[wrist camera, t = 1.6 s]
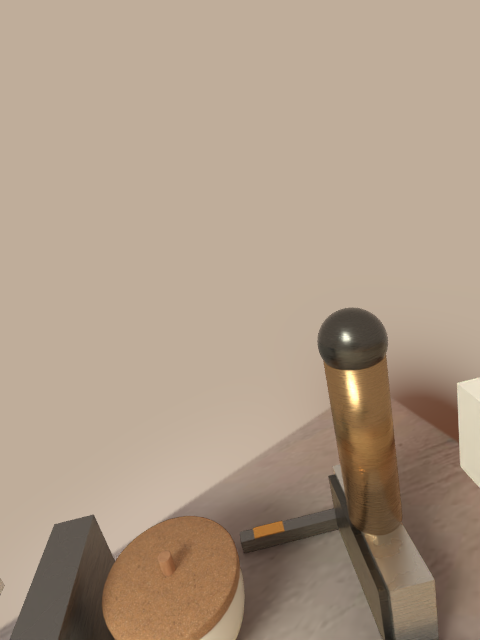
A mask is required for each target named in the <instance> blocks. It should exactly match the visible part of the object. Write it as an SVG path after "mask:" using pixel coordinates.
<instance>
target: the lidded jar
mask: <svg viewBox="0 0 480 640" xmlns="http://www.w3.org/2000/svg"><path fill="white" fill-rule="evenodd" d="M244 597H245V593H244V584H243V576H242V572H241V568H240V563H239V556H238V552H237V549H236V546H235V543H234V541H233V539H232V537H231V535H230V534H229V533H228V532H227V531H226V529H225V528H223V527H222V526H221V525H220V524H218V523H216V522H214V521H212V520H210V519H207V518H204V517H197V516H184V517H177V518H173V519H169V520H166V521H164V522H161V523H159V524H157V525H155V526H153V527H151V528H149V529H148V530H146V531H145V532H143V533H142V534H140V535H139V536H138V537H137V538H135V539H134V540H133V541H132V542H131V543H130V544H129V545H128V546H127V547H126V548H125V549H124V550H123V552H122V553H121V554H120V555H119V557H118V558H117V560H116V561H115V563H114V564H113V566H112V568H111V570H110V572H109V574H108V577H107V580H106V582H105V585H104V590H103V595H102V610H103V616H104V619H105V622H106V625H107V627H108V629H109V631H110V632H111V634H112V635H113V637H114V639H115V640H236V638H237V636H238V633H239V630H240V627H241V624H242V619H243V614H244Z"/></svg>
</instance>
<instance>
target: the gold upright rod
mask: <svg viewBox="0 0 480 640" xmlns="http://www.w3.org/2000/svg"><path fill="white" fill-rule="evenodd" d="M387 347H388V337H387V333H386V330H385V328H384V326H383V324H382V323H381V321H380V320H379V319H378V318H377V317H376V316H375V315H373V314H372V313H370V312H368V311H366V310H363V309H360V308H345V309H341V310H338V311H336V312H334V313H333V314H331V315H330V316H329V317H328V318H327V319H326V320H325V321H324V323H323V324H322V326H321V328H320V330H319V333H318V349H319V353H320V355H321V357H322V359H323V361H324V368H325V374H326V380H327V386H328V392H329V398H330V404H331V410H332V417H333V423H334V429H335V435H336V441H337V447H338V453H339V459H340V464H339V465H335V466H332V467H333V473H334V475H330V476H328V477H329V482H330V488H331V494H332V499H333V505H334V510H335V516H336V522H337V526H338V528H339V531H340V533H341V536H342V538H343V541H344V543H345V546H346V548H347V551H348V553H349V556H350V558H351V561H352V564H353V566H354V569H355V571H356V574H357V576H358V579H359V581H360V584H361V586H362V589H363V591H364V594H365V596H366V599H367V601H368V604H369V606H370V609H371V611H372V614H373V616H374V619H375V621H376V624H377V626H378V629H379V631H380V634H381V636H382V639H383V640H439V635H438V621H437V606H436V592H435V580H434V578H433V576H432V574H431V573H430V571H429V569H428V567H427V566H426V564H425V562H424V561H423V559H422V557H421V555H420V554H419V552H418V550H417V548H416V547H415V545H414V543H413V542H412V540H411V538H410V536H409V535H408V533H407V531H406V530H405V528H404V526H403V524H402V523H401V521H402V508H401V498H400V488H399V478H398V468H397V458H396V448H395V439H394V429H393V419H392V409H391V399H390V390H389V379H388V369H387V360H386V352H387Z"/></svg>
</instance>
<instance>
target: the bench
mask: <svg viewBox="0 0 480 640" xmlns="http://www.w3.org/2000/svg"><path fill="white" fill-rule="evenodd" d="M338 529H339V528H338V526H337V522H336V516H335V510H334V509H330V510H326V511H322V512H318V513H314V514H310V515H306V516H302V517H298V518H294V519H290V520H286V521H279V522H275V523H271V524H267V525H263V526H259V527H255V528H253V529H251V530H247V531H243V532H240V539H241V544H242V548H243V551H244V553H247V552H251V551H255V550H259V549H263V548H267V547H271V546H275V545H279V544H283V543H287V542H291V541H295V540H298V539H302V538H306V537H310V536H314V535H318V534H322V533H326V532H330V531H334V530H338ZM114 563H115V560H114V558H113V556H112V554H111V551H110V549H109V547H108V545H107V543H106V541H105V538H104V536H103V534H102V532H101V530H100V528H99V525H98V523H97V521H96V519H95V517H94V515H90V516H87V517H82V518H79V519H75V520H70V521H66V522H62V523H59V524H55V525H54V527H53V530H52V532H51V535H50V537H49V540H48V542H47V545H46V548H45V550H44V553H43V555H42V558H41V561H40V563H39V566H38V568H37V571H36V573H35V576H34V579H33V581H32V584H31V586H30V589H29V592H28V594H27V597H26V599H25V602H24V604H23V607H22V609H21V612H20V615H19V617H18V620H17V622H16V625H15V627H14V630H13V633H12V635H11V638H10V640H115V639H114V637H113V635H112V634H111V632H110V631H109V629H108V627H107V625H106V622H105V619H104V616H103V610H102V595H103V590H104V585H105V582H106V580H107V577H108V574H109V572H110V570H111V568H112V566H113V564H114Z"/></svg>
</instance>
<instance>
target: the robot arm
mask: <svg viewBox="0 0 480 640" xmlns="http://www.w3.org/2000/svg"><path fill="white" fill-rule="evenodd" d="M457 395H458V421H459V447H460V467H461V468H462V469H463V470H464V471H465V472H466V473H467V474H468V476H469V477H470V478H471V479H472V480H473V481H474V482H475V483H476V484H477V486H478V487H479V488H480V377H479V378H475V379H471V380H467V381H463V382H459V383H457ZM4 586H5V585H4V584H3V582H2V580H1V579H0V595H1V592H2V590H3V588H4Z"/></svg>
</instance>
